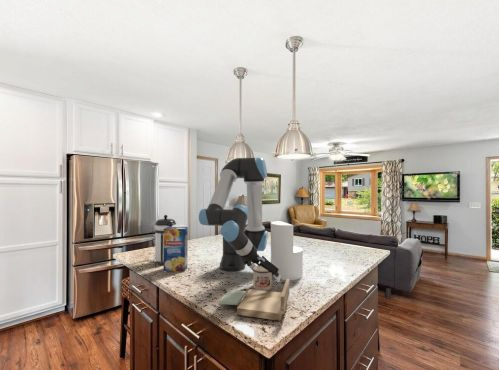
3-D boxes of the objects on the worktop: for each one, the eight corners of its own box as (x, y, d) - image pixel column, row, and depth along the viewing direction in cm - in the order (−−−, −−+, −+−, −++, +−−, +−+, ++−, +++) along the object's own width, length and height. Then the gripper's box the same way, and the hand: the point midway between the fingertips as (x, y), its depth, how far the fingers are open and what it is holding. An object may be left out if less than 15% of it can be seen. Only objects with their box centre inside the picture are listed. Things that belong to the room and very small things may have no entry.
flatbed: (289, 300, 104) (289, 278, 104) (284, 322, 86) (284, 296, 87) (249, 296, 108) (249, 275, 108) (236, 316, 91) (236, 291, 91)
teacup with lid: (253, 291, 113) (253, 265, 114) (252, 283, 122) (252, 260, 123) (279, 291, 114) (279, 265, 114) (276, 283, 123) (276, 259, 123)
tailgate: (245, 291, 105) (228, 290, 107) (237, 302, 95) (218, 301, 97) (245, 294, 105) (228, 294, 107) (237, 306, 95) (219, 305, 96)
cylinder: (277, 281, 126) (277, 225, 126) (266, 270, 142) (266, 221, 143) (308, 278, 130) (308, 224, 131) (294, 268, 147) (294, 220, 148)
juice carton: (163, 271, 140) (163, 228, 141) (167, 267, 148) (167, 226, 148) (184, 271, 141) (185, 228, 141) (187, 267, 148) (187, 226, 149)
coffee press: (181, 258, 166) (181, 213, 167) (171, 266, 150) (172, 216, 151) (156, 258, 168) (157, 213, 168) (144, 265, 152) (144, 215, 153)
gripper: (223, 251, 116) (246, 276, 126) (262, 262, 98) (285, 290, 109) (231, 238, 120) (253, 263, 130) (271, 246, 102) (293, 275, 112)
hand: (268, 275), depth 119 cm, fingers open, 13 cm apart
